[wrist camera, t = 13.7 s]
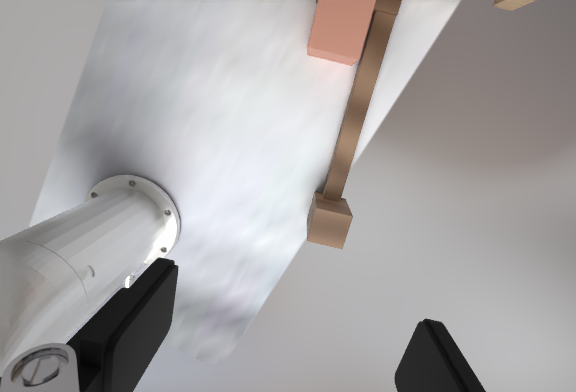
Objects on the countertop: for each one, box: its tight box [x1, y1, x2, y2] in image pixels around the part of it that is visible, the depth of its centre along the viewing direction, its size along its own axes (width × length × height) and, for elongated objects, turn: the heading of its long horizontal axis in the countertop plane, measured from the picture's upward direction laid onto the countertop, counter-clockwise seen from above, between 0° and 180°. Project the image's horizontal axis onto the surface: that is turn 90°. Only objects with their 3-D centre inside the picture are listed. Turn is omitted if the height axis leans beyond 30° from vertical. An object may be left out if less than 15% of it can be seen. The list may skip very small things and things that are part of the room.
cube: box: [307, 0, 376, 66], centre depth 29 cm, size 5×5×5 cm
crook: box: [307, 0, 402, 249], centre depth 31 cm, size 26×9×6 cm, turn 167°
